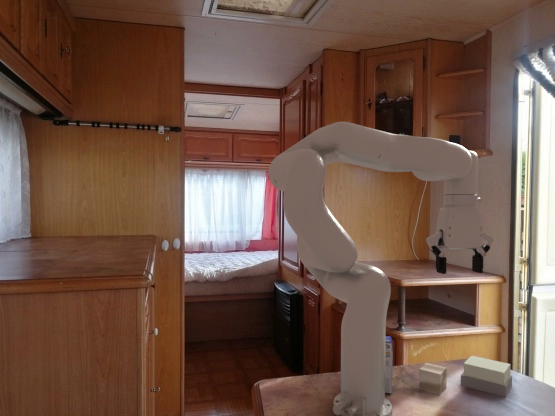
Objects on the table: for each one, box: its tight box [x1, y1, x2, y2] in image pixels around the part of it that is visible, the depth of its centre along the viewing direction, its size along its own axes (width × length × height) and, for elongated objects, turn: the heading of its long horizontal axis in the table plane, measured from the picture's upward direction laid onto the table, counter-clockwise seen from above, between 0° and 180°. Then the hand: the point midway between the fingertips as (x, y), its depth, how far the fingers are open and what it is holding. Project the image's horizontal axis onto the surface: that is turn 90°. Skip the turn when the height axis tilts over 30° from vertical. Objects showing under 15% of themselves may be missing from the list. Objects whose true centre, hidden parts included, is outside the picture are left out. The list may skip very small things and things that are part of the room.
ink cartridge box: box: [385, 335, 393, 394], centre depth 101 cm, size 10×6×14 cm, turn 78°
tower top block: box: [463, 355, 511, 385], centre depth 102 cm, size 7×9×3 cm
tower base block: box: [460, 371, 513, 398], centre depth 102 cm, size 8×10×3 cm
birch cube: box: [418, 362, 448, 396], centre depth 100 cm, size 5×5×5 cm
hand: (459, 272), depth 100 cm, fingers open, 9 cm apart
